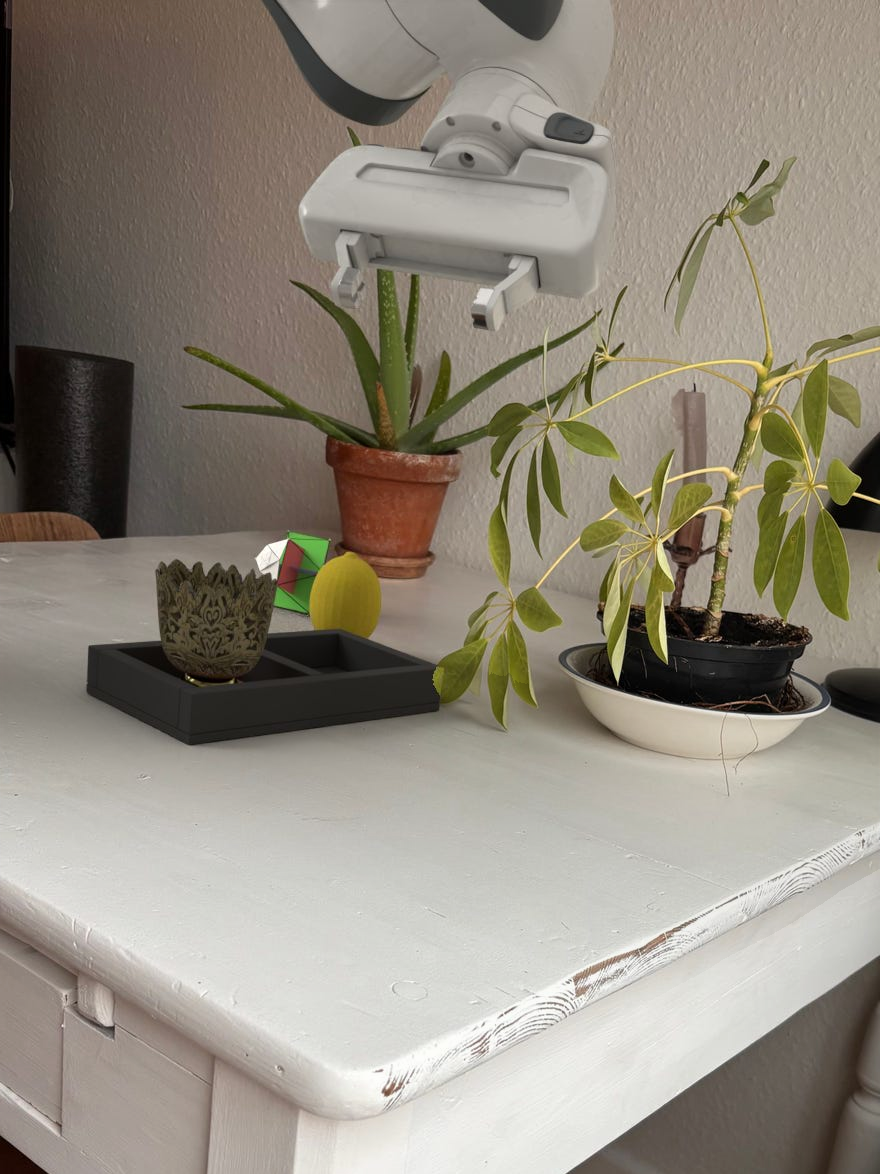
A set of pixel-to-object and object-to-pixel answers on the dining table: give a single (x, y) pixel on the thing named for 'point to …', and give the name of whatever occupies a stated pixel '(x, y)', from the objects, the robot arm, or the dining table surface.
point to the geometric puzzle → (294, 568)
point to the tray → (266, 686)
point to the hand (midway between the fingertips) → (411, 310)
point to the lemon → (346, 596)
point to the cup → (213, 620)
